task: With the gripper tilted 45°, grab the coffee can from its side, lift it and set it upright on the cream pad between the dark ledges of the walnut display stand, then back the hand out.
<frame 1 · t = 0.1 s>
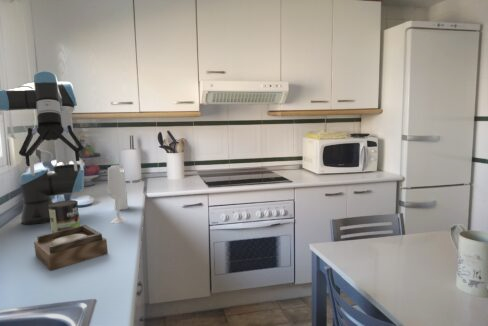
hand: (54, 172, 129), 28 cm above the countertop, tool tilted 20°, fingers open, 13 cm apart
coffee can: (67, 238, 144), on the countertop
champagne flute: (119, 221, 164), on the countertop
display stand: (71, 254, 127), on the countertop
milk: (121, 208, 187), on the countertop
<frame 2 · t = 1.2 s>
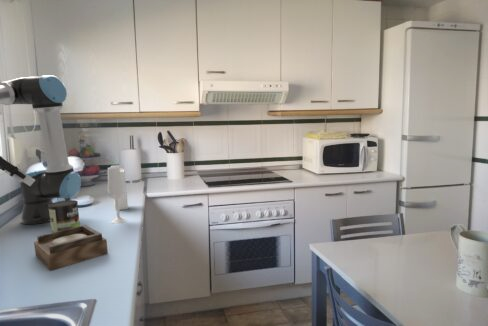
hand: (27, 181, 133), 25 cm above the countertop, tool tilted 45°, fingers open, 13 cm apart
nothing on the countertop moved.
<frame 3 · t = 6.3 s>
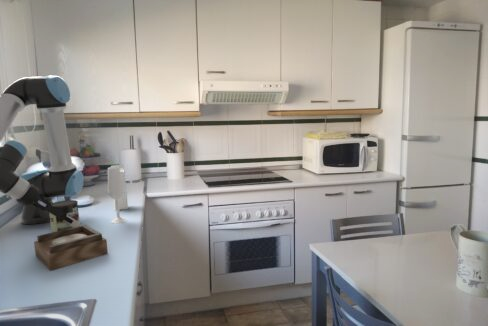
hand: (73, 223, 145), 5 cm above the countertop, tool tilted 45°, fingers closed on coffee can, 10 cm apart
coffee can: (67, 238, 144), on the countertop, touching gripper
everything else where it was.
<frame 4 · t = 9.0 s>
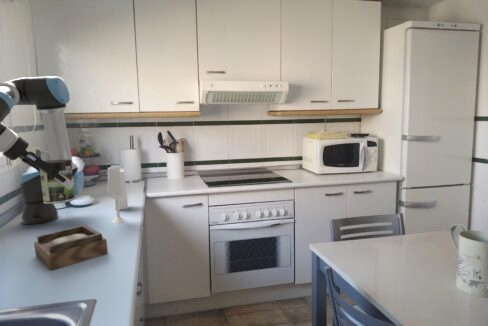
hand: (67, 184, 132), 23 cm above the countertop, tool tilted 45°, fingers closed on coffee can, 10 cm apart
coffee can: (59, 201, 131), point 17 cm above the countertop, touching gripper
everything else where it was.
when the fingers open (12 cm above the countertop, at t = 12.1 s): coffee can drops 2 cm, resting on display stand.
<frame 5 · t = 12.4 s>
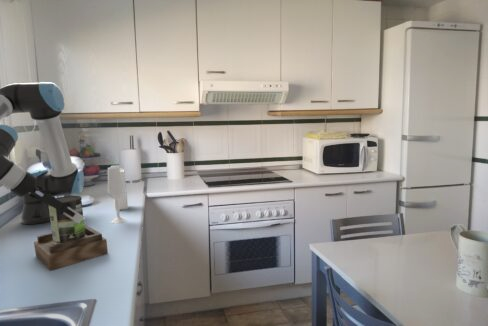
hand: (74, 216, 127), 13 cm above the countertop, tool tilted 45°, fingers open, 13 cm apart
coffee can: (69, 240, 126), point 5 cm above the countertop, touching display stand
everything else where it was.
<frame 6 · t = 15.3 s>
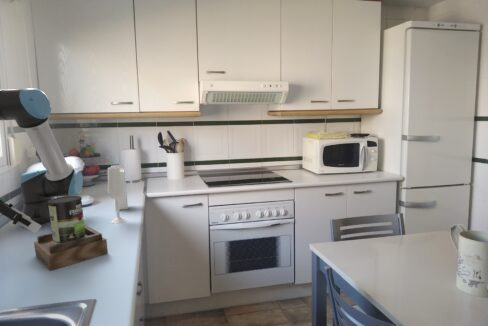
hand: (33, 225, 118), 13 cm above the countertop, tool tilted 45°, fingers open, 13 cm apart
nothing on the countertop moved.
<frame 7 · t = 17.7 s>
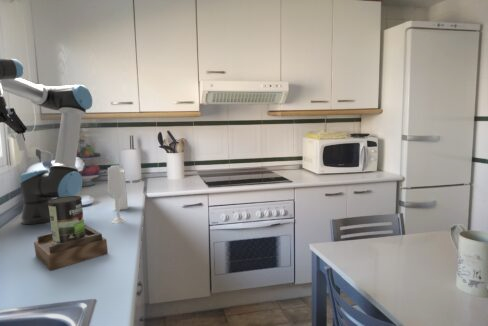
hand: (8, 154, 138), 34 cm above the countertop, tool pointing down, fingers open, 13 cm apart
nothing on the countertop moved.
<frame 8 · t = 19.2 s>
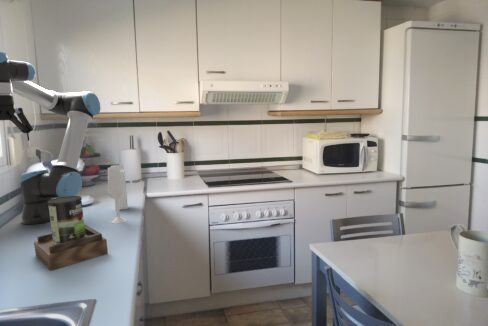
hand: (9, 151, 141), 35 cm above the countertop, tool pointing down, fingers open, 13 cm apart
nothing on the countertop moved.
at the end: coffee can inside the target area on the display stand (0.1 cm from its centre), point 5.2 cm above the display stand's base; coffee can tilted 0°; the gripper is holding nothing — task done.
